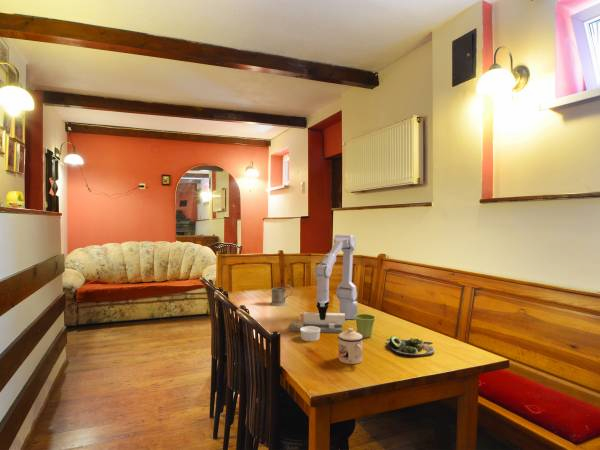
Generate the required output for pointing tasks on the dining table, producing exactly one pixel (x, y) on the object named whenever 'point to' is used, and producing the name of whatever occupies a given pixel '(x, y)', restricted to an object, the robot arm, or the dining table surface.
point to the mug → (279, 296)
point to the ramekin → (310, 333)
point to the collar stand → (323, 326)
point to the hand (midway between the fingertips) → (322, 318)
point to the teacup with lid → (350, 347)
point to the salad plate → (409, 347)
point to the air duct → (315, 318)
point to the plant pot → (364, 324)
